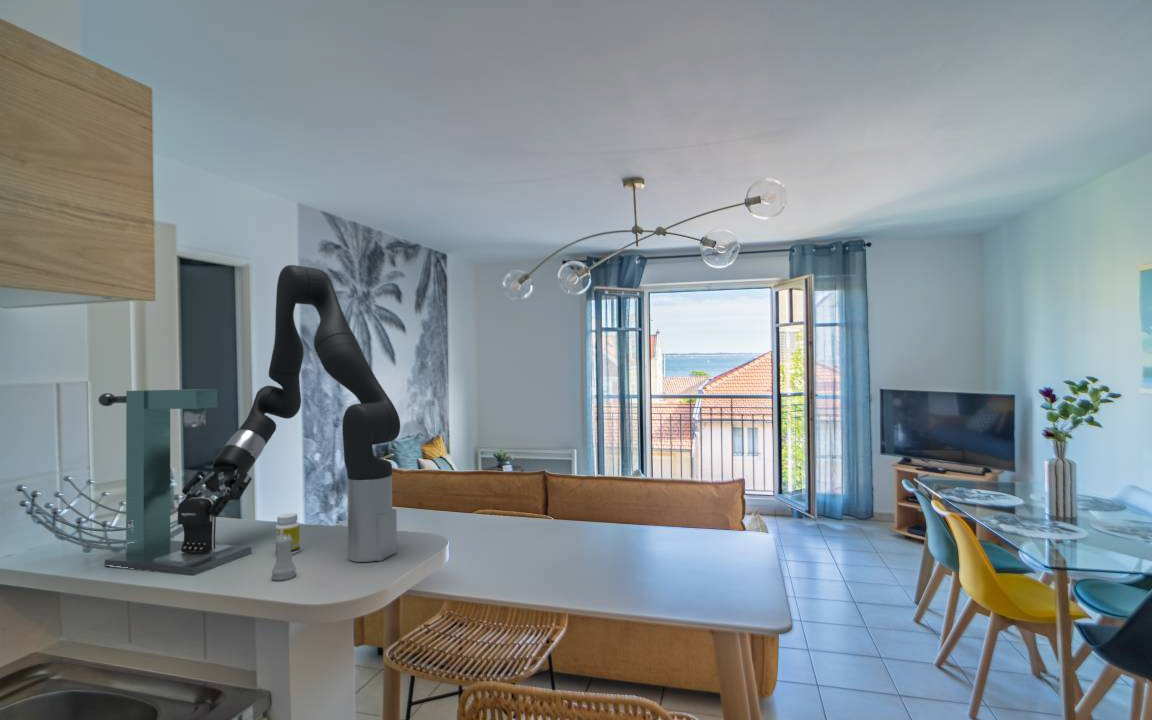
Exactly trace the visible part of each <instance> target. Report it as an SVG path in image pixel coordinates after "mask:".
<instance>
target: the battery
mask: <svg viewBox="0 0 1152 720" xmlns="http://www.w3.org/2000/svg"><path fill="white" fill-rule="evenodd" d="M183 500H184V499H183ZM183 500H182V501H181V502H180V503H179V505H178V507H177V509H178V511H177V525H182V527H183V535H184V536H183V545H182V548H181V551H182V552H186V553H204V552H208V551H212V550H214V549H215V544H216V525H217V524H216V523H217V519H216V518H217V517H213V516H212V515H211V514H209V512H208V511H209V509H210V508H211V506H212V505H213V504H214V502H215V500H214V499H213V498H211V497H200V498H190V499H187V500H184V501H183Z"/></svg>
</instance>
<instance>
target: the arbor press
mask: <svg viewBox="0 0 1152 720" xmlns="http://www.w3.org/2000/svg"><path fill="white" fill-rule="evenodd" d="M125 394H126V395H114V394H113V393H109V392H108V393H107V392H106V393H102V394H101V395H100V396H99V397H98V403H99V405H101V406H102V407H111V406H112V405H114V404H125V406H126V407H125V408H126V409H125V413H126V414H125V416H126V418H125V419H126V420H125V422H126V423H125V425H126V426H125V428H126V433H125V434H126V436H125V438H126V441H125V442H126V445H125V449H126V451H125V453H126V454H125V455H126V457H125V458H126V459H125V461H126V462H125V466H126V467H125V478H126V480H125V483H126V485H125V493H126V494H125V496H126V497H125V510H126V511H125V541H126V540H138V541H137V542H134V543H129V544H127V547H128V548H127V549H126V548H125V553H122V554H119V555H115V556H112V557H109V558H105V559H104V566H105V565H113V566H121V567H128V568H134V569H141V570H140V571H144V570H150V571H149V572H154V571H158V572H157V573H165V572H166V573H167V574H175V575H176V574H179V575H186V576H187V575H188V576H189V575H190V576H195V575H198V574H200V573H203V572H206V571H209V570H211V569H214V568H216V567H219V566H222V565H224V564H227V563H230V562H232V561H235V560H237V559H240V558H243V557H246V556H248V555H250V554H252V546H248V545H235V544H225V543H224V544H221V543H215V549H214V550H212V551H208V552H204V553H186V552H182V551H181V548H182V545H183V541H184V540H183V541H180V540H171V410H173V409H174V410H176V409H177V410H182V427H183V428H198V427H201V428H202V427H206V409H210V408H218V388H213V389H212V388H207V389H205V388H203V389H202V388H201V389H200V388H199V389H197V388H196V389H149V390H147V389H146V390H141V389H140V390H126V393H125ZM131 520H133V521H131ZM128 521H130V522H133V526H134V530H133V533H132V531H131V530H130V529H129V530H126V528H128V527H129V526H128ZM166 573H165V574H166Z"/></svg>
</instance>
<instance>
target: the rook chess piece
mask: <svg viewBox="0 0 1152 720" xmlns="http://www.w3.org/2000/svg"><path fill="white" fill-rule="evenodd" d="M292 541H293V539H292V538H291V535H288V537H286V535H284V537H282V535H280V536H278V537H276V536H275V541H274V542H273V543H274V544H275V546H276V545H277V549H276V548H275V552H276V551H277V555H276V559H275V564H274V566H273V568H272V569H271V573H272V574H271V577H270V578H271V580H273V581H278V582H281V581H287V580H291V579H293V578H295V576H296V575H297V571H296V570H297V566H296V565H295V564H294V563H295V562H293V558H292V555H291V548H292V547H291V542H292Z"/></svg>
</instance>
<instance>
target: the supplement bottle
mask: <svg viewBox="0 0 1152 720" xmlns="http://www.w3.org/2000/svg"><path fill="white" fill-rule="evenodd" d="M276 520H277V523H276V526H275V538H276V537H278V536H280V535H282V537H284V535H286V537H288V535H291V538H292V539H293V541H292V542H291V547H292V548H291V556H292V555H295V554H298V553H299V552H300V547H301V546H300V522H298V514H297V513H296V512H291V513H288V512H287V513H283V514H279V515H277V519H276ZM276 549H277V545H276V544H275V555H276V556H277V551H276Z"/></svg>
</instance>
